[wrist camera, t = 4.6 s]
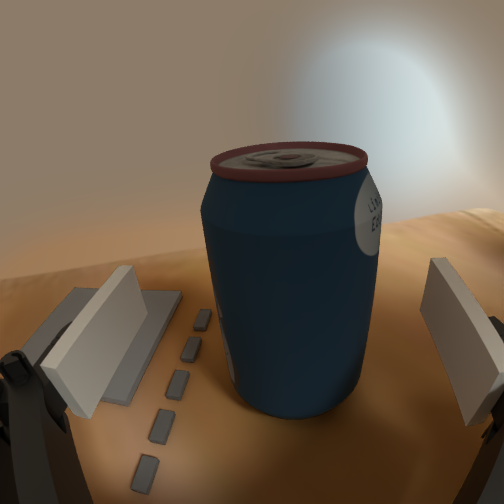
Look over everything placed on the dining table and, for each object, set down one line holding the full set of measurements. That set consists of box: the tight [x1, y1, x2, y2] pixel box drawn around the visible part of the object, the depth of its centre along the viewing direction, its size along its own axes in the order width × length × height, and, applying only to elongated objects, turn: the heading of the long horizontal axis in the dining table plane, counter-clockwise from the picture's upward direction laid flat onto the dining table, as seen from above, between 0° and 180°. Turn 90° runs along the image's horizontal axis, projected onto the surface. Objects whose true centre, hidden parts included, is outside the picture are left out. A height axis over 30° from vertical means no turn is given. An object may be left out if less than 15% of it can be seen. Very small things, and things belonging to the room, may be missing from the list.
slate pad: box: [20, 288, 182, 406], centre depth 21 cm, size 11×11×1 cm
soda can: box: [200, 142, 382, 420], centre depth 14 cm, size 7×7×12 cm
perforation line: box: [131, 309, 212, 495], centre depth 17 cm, size 1×14×1 cm, turn 173°
